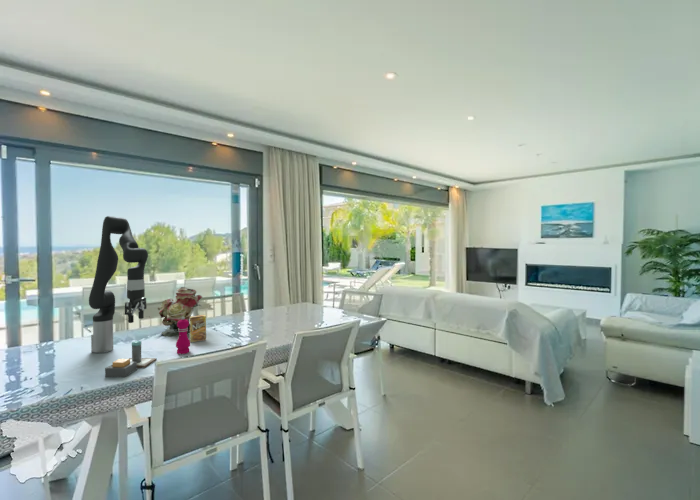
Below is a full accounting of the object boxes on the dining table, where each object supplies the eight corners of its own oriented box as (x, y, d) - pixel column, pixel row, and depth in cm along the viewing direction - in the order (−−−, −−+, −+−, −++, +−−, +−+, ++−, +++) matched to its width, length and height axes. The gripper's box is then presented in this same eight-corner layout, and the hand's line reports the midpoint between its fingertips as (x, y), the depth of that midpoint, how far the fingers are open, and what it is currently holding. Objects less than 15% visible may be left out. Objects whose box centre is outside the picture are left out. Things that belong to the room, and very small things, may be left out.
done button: (112, 371, 161) (112, 362, 161) (119, 367, 166) (119, 358, 166) (123, 371, 161) (123, 362, 161) (130, 367, 166) (130, 358, 166)
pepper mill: (176, 355, 189) (175, 318, 188) (175, 351, 196) (175, 315, 195) (190, 353, 192) (190, 317, 192) (189, 349, 199) (189, 314, 198)
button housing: (105, 377, 159) (105, 368, 159) (117, 369, 168) (117, 361, 168) (125, 377, 159) (125, 368, 159) (136, 369, 168) (136, 361, 168)
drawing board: (115, 367, 170) (115, 365, 170) (129, 360, 181) (129, 357, 181) (144, 368, 170) (144, 365, 170) (156, 360, 181) (156, 358, 181)
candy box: (190, 342, 212) (190, 317, 211) (189, 340, 215) (189, 316, 215) (206, 340, 217) (206, 315, 216) (204, 338, 220) (204, 314, 220)
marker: (129, 363, 174) (129, 343, 173) (134, 360, 178) (134, 340, 177) (138, 363, 174) (138, 343, 173) (143, 360, 178) (143, 340, 177)
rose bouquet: (160, 328, 244) (160, 285, 243) (205, 325, 253) (205, 284, 252) (152, 338, 219) (151, 290, 218) (202, 334, 229) (202, 289, 228)
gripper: (136, 286, 181) (136, 317, 182) (119, 290, 167) (119, 324, 168) (151, 286, 181) (151, 317, 182) (134, 290, 167) (135, 324, 168)
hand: (136, 320), depth 175 cm, fingers open, 8 cm apart
